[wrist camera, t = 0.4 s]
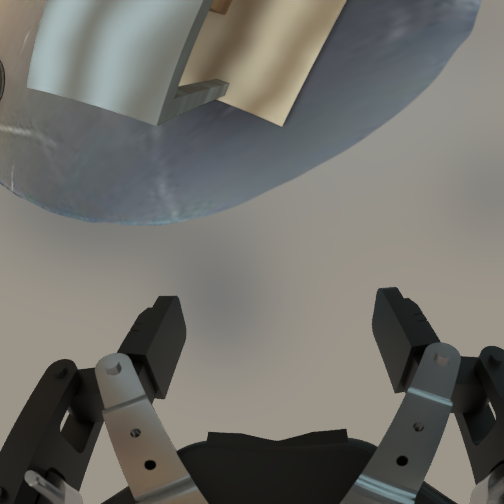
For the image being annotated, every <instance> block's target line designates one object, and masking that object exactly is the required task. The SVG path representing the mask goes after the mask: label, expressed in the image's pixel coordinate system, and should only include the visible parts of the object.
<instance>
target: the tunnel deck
mask: <svg viewBox="0 0 504 504" xmlns="http://www.w3.org/2000/svg"><path fill="white" fill-rule="evenodd" d="M213 1H214V0H47V2H46V5H45V9H44V12H43V15H42V18H41V22H40V25H39V29H38V33H37V37H36V41H35V45H34V50H33V54H32V59H31V64H30V70H29V76H28V82H27V87H28V88H32V89H36V90H40V91H44V92H48V93H52V94H56V95H60V96H63V97H67V98H71V99H74V100H78V101H81V102H85V103H88V104H91V105H95V106H98V107H101V108H104V109H107V110H111V111H114V112H117V113H120V114H123V115H126V116H129V117H132V118H135V119H138V120H141V121H143V122H146V123H149V124H152V125H155V126H158V125H160V124H162V123H164V122H166V121H168V120H170V119H172V118H174V117H176V116H179V115H181V114H183V113H185V112H187V111H189V110H192V109H194V108H196V107H199V106H201V105H203V104H206V103H208V102H210V101H213V100H215V99H216V100H219V101H222V102H224V103H227V104H229V105H232V106H235V107H237V108H240V109H242V110H244V111H247V112H249V113H252V114H254V115H256V116H259V117H261V118H263V119H266V120H268V121H270V122H272V123H275V124H277V125H279V126H281V127H282V126H283V123H284V121H285V119H286V117H287V115H288V113H289V111H290V109H291V107H292V105H293V103H294V101H295V99H296V97H297V95H298V93H299V91H300V89H301V87H302V85H303V83H304V81H305V79H306V77H307V75H308V73H309V71H310V69H311V67H312V65H313V63H314V61H315V60H316V58H317V56H318V54H319V52H320V50H321V48H322V46H323V44H324V42H325V40H326V38H327V36H328V34H329V33H330V31H331V29H332V27H333V25H334V23H335V21H336V19H337V17H338V15H339V14H340V12H341V10H342V8H343V6H344V4H345V2H346V1H347V0H232V2H231V4H230V6H229V8H228V10H227V12H226V15H222V14H219V13H215V12H211V11H209V9H210V7H211V5H212V3H213Z"/></svg>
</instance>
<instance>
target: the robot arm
mask: <svg viewBox="0 0 504 504" xmlns="http://www.w3.org/2000/svg"><path fill="white" fill-rule="evenodd" d="M372 329H373V335H374V337H375V340H376V342H377V345H378V347H379V350H380V353H381V356H382V358H383V361H384V364H385V367H386V369H387V372H388V375H389V377H390V380H391V383H392V386H393V389H394V392H395V393H400V392H405V393H406V395H405V397H404V399H403V401H402V404H401V406H400V408H399V409H398V411H397V413H396V415H395V418H394V419H393V421H392V423H391V425H390V427H389V428H388V430H387V432H386V434H385V436H384V437H383V439H382V441H381V443H380V445H379V446H378V447H377V446H375V445H373V444H371V443H368V442H365V441H362V440H358V439H353V438H348V436H347V430H346V429H340V430H330V431H319V432H311V433H308V434H304V435H301V436H296V437H293V438H289V439H285V440H280V441H274V440H269V439H263V438H259V437H255V436H250V435H246V434H241V433H219V432H208V438H207V441H202V442H198V443H194V444H191V445H188V446H186V447H184V448H182V449H180V450H178V451H177V450H176V449H175V447H174V445H173V444H172V442H171V440H170V438H169V436H168V435H167V433H166V431H165V429H164V427H163V425H162V423H161V422H160V420H159V418H158V416H157V414H156V412H155V410H154V408H153V406H152V403H153V400H154V398H157V399H165V397H166V394H167V391H168V388H169V385H170V382H171V379H172V377H173V374H174V371H175V368H176V365H177V363H178V360H179V357H180V354H181V351H182V348H183V346H184V343H185V340H186V325H185V321H184V317H183V313H182V309H181V305H180V301H179V298H178V297H177V296H159V297H158V298H157V300H156V302H155V304H154V305H153V307H152V308H147V309H146V310H144V311H143V312H142V313H141V314H140V315H139V316H138V318H137V319H136V321H135V323H134V325H133V326H132V328H131V329H130V331H129V333H128V334H127V336H126V338H125V339H124V341H123V343H122V345H121V346H120V348H119V350H118V352H117V353H113V354H110V355H107V356H105V357H103V358H102V359H101V360H99V362H98V363H97V364H96V367H95V368H88V369H79V370H78V369H77V367H76V365H75V363H74V362H73V361H71V360H68V359H62V360H58V361H56V362H54V363H53V364H51V365H50V366H49V367H48V368H47V370H46V371H45V373H44V375H43V376H42V378H41V379H40V381H39V383H38V384H37V386H36V388H35V389H34V391H33V393H32V394H31V396H30V398H29V400H28V401H27V403H26V405H25V406H24V408H23V410H22V412H21V413H20V415H19V417H18V419H17V421H16V422H15V424H14V426H13V428H12V430H11V432H10V434H9V436H8V437H7V439H6V441H5V443H4V446H3V447H2V450H1V451H0V504H83V500H82V497H81V495H80V493H79V490H80V487H81V484H82V481H83V478H84V474H85V472H86V469H87V466H88V463H89V460H90V457H91V454H92V452H93V449H94V446H95V443H96V441H97V438H98V435H99V433H100V430H101V427H102V425H103V422H104V421H105V424H106V427H107V430H108V433H109V436H110V439H111V442H112V445H113V448H114V451H115V453H116V456H117V459H118V461H119V464H120V466H121V469H122V471H123V474H124V476H125V478H126V481H127V483H128V485H129V486H128V487H126V488H124V489H123V490H122V491H120V492H118V493H117V494H116V495H114V496H112V497H111V498H109V499H108V500H106V501H105V502H103V503H101V504H457V503H456V502H454V501H452V500H451V499H449V498H448V497H447V496H445V495H444V494H442V493H441V492H439V491H438V490H436V489H435V488H433V487H432V486H430V485H429V484H427V483H426V482H425V481H423V480H424V478H425V476H426V474H427V472H428V469H429V467H430V465H431V463H432V460H433V458H434V456H435V453H436V451H437V448H438V446H439V443H440V440H441V438H442V435H443V432H444V429H445V427H446V424H447V420H448V418H449V414H450V413H454V414H455V417H456V419H457V422H458V425H459V428H460V431H461V434H462V437H463V440H464V443H465V447H466V450H467V453H468V457H469V460H470V464H471V467H472V471H473V475H474V479H475V483H476V486H475V488H474V489H473V491H472V494H471V498H470V503H469V504H504V350H503V349H501V348H499V347H496V346H488V347H485V348H484V349H483V350H482V351H481V353H480V355H479V357H463V356H460V354H459V352H458V351H457V349H456V348H454V347H453V346H451V345H449V344H446V343H441V342H440V340H439V339H438V337H437V335H436V333H435V332H434V330H433V329H432V327H431V325H430V324H429V322H428V321H427V319H426V317H425V316H424V315H423V313H422V311H421V310H420V308H419V307H418V305H417V304H416V303H414V302H413V301H411V300H410V299H409V298H403V296H402V294H401V293H400V291H399V290H398V288H397V287H390V288H379V289H378V291H377V294H376V301H375V308H374V314H373V319H372ZM489 402H491V405H492V407H493V409H494V411H495V414H496V420H495V418H494V415H493V413H492V411H491V408H490V406H489V404H488V403H489ZM67 410H68V412H69V415H68V418H67V420H66V422H65V424H64V427H63V428H62V431H61V432H60V424H61V422H62V419H63V417H64V415H65V413H66V411H67Z"/></svg>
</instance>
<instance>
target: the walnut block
mask: <svg viewBox="0 0 504 504" xmlns="http://www.w3.org/2000/svg"><path fill="white" fill-rule="evenodd" d="M231 2H232V0H214V1H213V3H212V5H211V7H210V9H209V11H211V12H215V13H219V14H222V15H226V12H227V10H228V8H229V6H230V4H231Z"/></svg>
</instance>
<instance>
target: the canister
mask: <svg viewBox="0 0 504 504" xmlns="http://www.w3.org/2000/svg"><path fill="white" fill-rule="evenodd" d="M4 81H5V78H4V69H3V66H2V63H1V62H0V99H1V97H2V94H3V90H4Z"/></svg>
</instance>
